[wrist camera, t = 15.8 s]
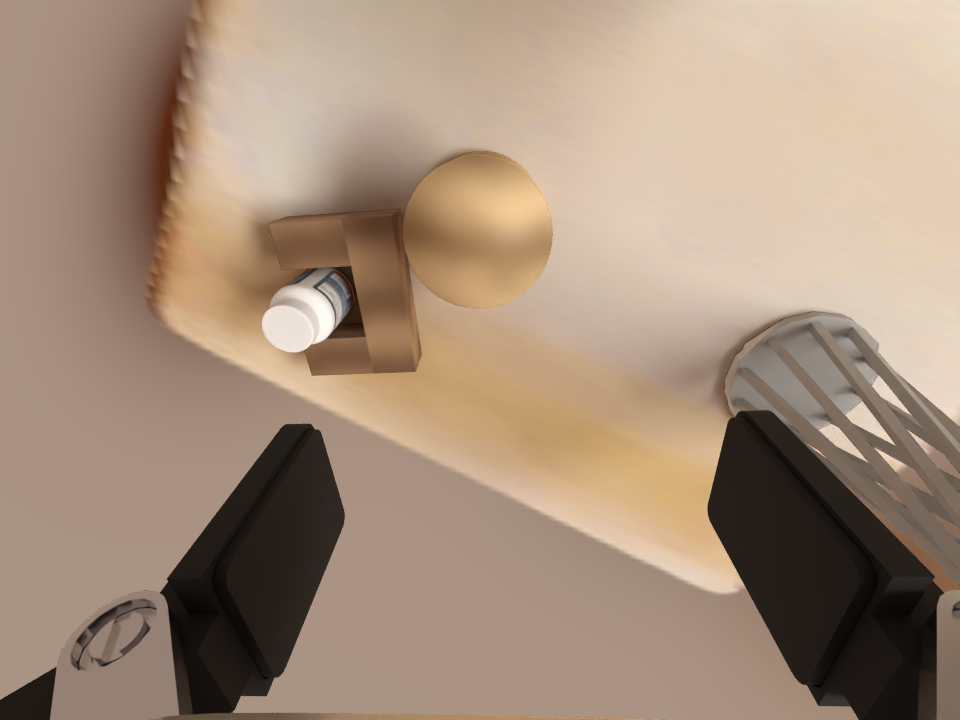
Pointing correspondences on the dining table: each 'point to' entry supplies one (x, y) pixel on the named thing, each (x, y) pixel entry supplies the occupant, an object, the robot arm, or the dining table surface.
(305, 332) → the pill bottle
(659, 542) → the dining table surface
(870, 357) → the grey lattice tower
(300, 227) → the notched board
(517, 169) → the wooden spool
